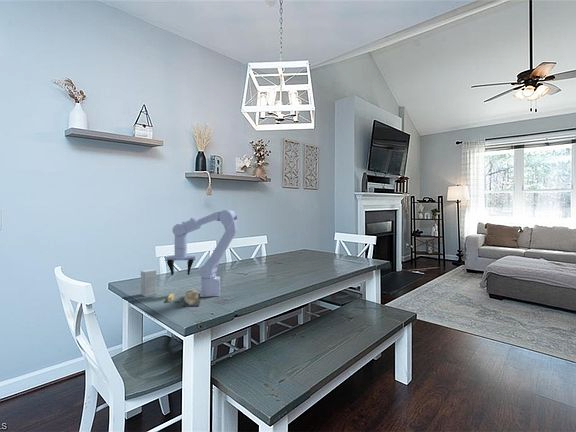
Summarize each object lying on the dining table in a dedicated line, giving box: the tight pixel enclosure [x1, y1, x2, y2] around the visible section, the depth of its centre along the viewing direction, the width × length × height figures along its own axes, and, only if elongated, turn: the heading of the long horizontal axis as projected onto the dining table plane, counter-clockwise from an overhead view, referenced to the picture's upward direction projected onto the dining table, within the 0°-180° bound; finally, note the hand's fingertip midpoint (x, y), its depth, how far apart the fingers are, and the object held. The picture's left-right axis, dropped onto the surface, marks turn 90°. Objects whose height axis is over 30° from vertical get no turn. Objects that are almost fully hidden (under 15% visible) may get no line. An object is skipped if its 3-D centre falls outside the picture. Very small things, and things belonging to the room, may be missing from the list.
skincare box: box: [140, 268, 158, 297], centre depth 145 cm, size 6×4×12 cm
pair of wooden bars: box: [167, 293, 186, 303], centre depth 138 cm, size 9×6×2 cm
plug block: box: [185, 289, 199, 305], centre depth 132 cm, size 4×4×5 cm
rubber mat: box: [183, 299, 201, 308], centre depth 132 cm, size 6×6×1 cm
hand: (180, 274), depth 147 cm, fingers open, 7 cm apart
